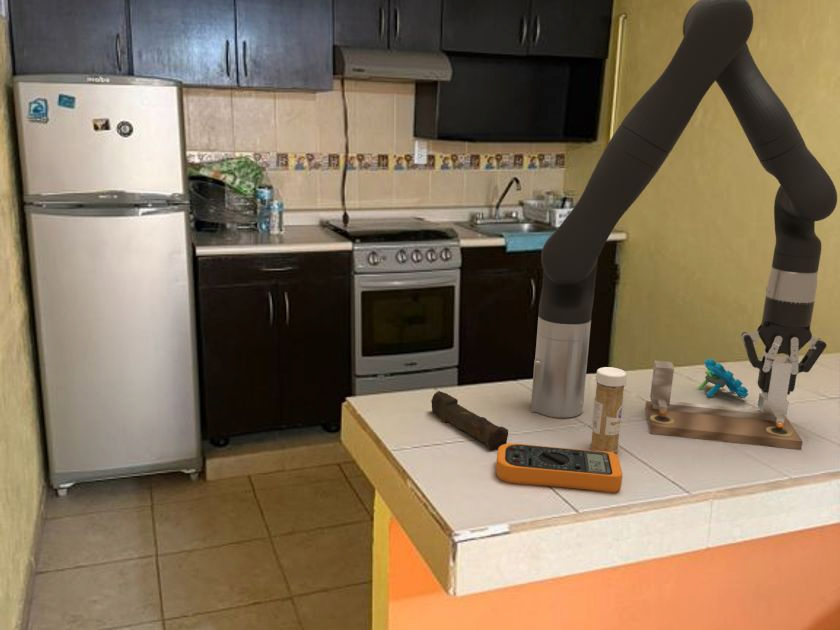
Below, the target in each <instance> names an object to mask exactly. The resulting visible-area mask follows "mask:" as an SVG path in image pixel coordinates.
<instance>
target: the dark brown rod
mask: <svg viewBox="0 0 840 630" xmlns="http://www.w3.org/2000/svg"><path fill="white" fill-rule="evenodd" d="M430 401H431V410H432V413H433V414H434V415H435V417H436V418H438V419H439V420H440V421H442V422H443V423H444V422H445V424H449V423H450V424H452V425H453V426H455V427H457V428H458V429H459V430H462V431H463V432H465V433H466V434H469V436H471V437H473V438H475V439H477V440H478V441H479V442H480V443H482V444H485V445H486V446H487V449H488V451H490V452H494V451H498V448H499V447H500V446H501V445H503V444H508V437H509V430H508V428H507V427H504V426H499V425H496V424H494V423H493V422H491V421H490V420H488V419H487V418H486V417H483V416H480V415H478V414H476V413H474V412H472V411H471V410H468V409H467V408H465V407H464V406H462V405H460V403H459V404H458V402H459V401H458V398H455V397H454V396H452V395H450V394H448V393H446V392H443V391H440V390H438V391H436V392H435V393H434V394H433V395H432V399H431V400H430ZM493 450H494V451H493Z"/></svg>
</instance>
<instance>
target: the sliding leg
mask: <svg viewBox="0 0 840 630" xmlns="http://www.w3.org/2000/svg"><path fill="white" fill-rule="evenodd" d="M791 368H792V363H791V362H790V361H789V359H787V357H786V356H778V355H776V357H775V360H774V361H772V365H771V368H770V371H769V372H770V378H769V384H768V391H767V392H762V391H761V392H759V395H758V401H757V402H758V403H757V407H758V410H760V411H761V412H762V413H766V414H771V415H772V417H773V419H774V420H775V422H776V423H777V425H776V428H777V429H780V430H781V429H783V424H784V420H785V419H784V418H783V416H782V415H785V416H786V417H787V415H788V410H789V409H788V408H789V401H788V399H787V398H788V395H787V393H788V387H789V380H790V374H791Z"/></svg>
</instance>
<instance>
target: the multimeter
mask: <svg viewBox="0 0 840 630" xmlns="http://www.w3.org/2000/svg"><path fill="white" fill-rule="evenodd" d="M620 462H621V461H620V459H619V456H618V455H617V453H613V452H605V451H593V450H592V449H591V450H589V449H577V448H565V447H556V446H543V445H536V444H535V445H534V444H524V443H515V442H514V443H513V442H511V443H508V442H507V443H506V444H503V445H501V446H500V447H499V448H498V450H497V454H496V465H495V466H496V467H495V468H496V469H495V471H496V474H497V477H498V478H499V479H500V480H502V481H504V482H506V483H511V484H520V485H532V486H533V485H534V486H546V487H547V486H548V487H557V488H567V489H568V488H569V489H578V490H588V491H595V492H596V491H597V492H605V493H610V494H611V493H617V492H618V491H620V490H621V487H622V482H623V472H622V467H621V463H620Z"/></svg>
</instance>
